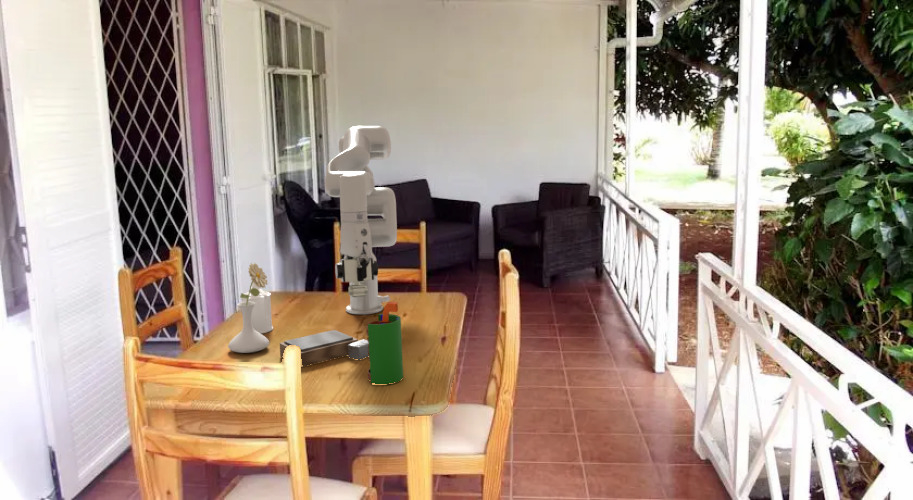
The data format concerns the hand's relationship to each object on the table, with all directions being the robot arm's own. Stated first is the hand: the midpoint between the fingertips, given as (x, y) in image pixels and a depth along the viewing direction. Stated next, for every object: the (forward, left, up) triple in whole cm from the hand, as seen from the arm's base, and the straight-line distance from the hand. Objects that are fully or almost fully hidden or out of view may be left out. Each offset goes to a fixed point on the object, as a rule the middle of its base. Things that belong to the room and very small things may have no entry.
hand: (356, 278), depth 212 cm
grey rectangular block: (+6, +11, -20) cm, 23 cm away
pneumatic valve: (0, +1, -5) cm, 5 cm away
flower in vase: (+26, -16, -20) cm, 37 cm away
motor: (+11, +30, -20) cm, 37 cm away
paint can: (+16, -32, -20) cm, 41 cm away
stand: (+14, +2, -20) cm, 24 cm away
